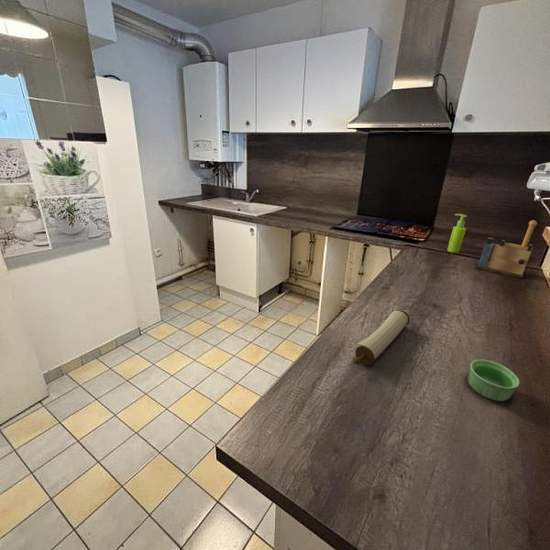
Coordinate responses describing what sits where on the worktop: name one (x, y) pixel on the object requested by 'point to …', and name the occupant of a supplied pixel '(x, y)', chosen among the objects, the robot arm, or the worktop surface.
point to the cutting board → (504, 259)
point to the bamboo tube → (381, 338)
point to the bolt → (527, 237)
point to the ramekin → (492, 380)
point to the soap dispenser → (457, 235)
